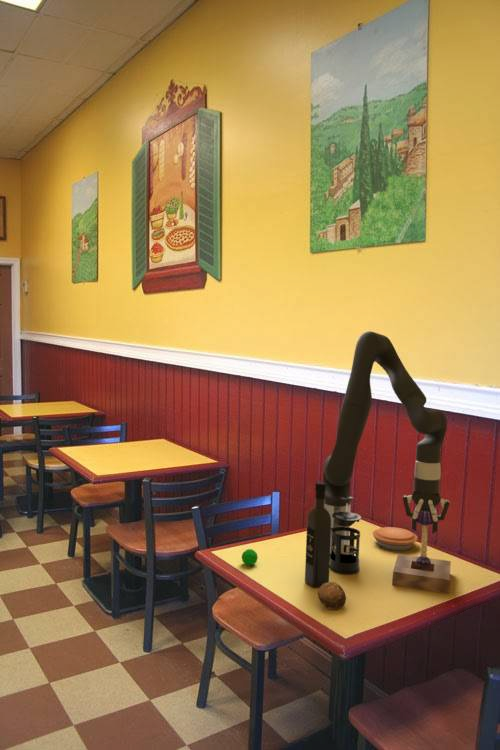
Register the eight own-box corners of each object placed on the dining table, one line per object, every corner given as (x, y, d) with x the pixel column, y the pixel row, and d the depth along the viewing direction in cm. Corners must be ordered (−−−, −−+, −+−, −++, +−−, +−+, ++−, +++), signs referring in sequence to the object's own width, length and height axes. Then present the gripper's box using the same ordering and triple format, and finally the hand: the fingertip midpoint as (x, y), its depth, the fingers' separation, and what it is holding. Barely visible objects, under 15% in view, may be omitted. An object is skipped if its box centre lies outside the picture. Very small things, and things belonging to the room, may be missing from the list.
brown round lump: (313, 586, 170) (323, 573, 167) (338, 596, 171) (349, 583, 168) (311, 610, 164) (322, 597, 160) (338, 621, 165) (349, 608, 161)
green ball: (239, 562, 195) (240, 547, 195) (254, 561, 196) (254, 546, 196) (244, 568, 190) (244, 553, 190) (259, 566, 192) (259, 552, 191)
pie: (364, 546, 214) (365, 532, 214) (382, 535, 227) (382, 521, 226) (407, 556, 205) (408, 541, 205) (423, 544, 218) (423, 530, 218)
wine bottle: (313, 588, 176) (318, 486, 174) (303, 581, 181) (307, 481, 179) (330, 585, 179) (334, 484, 177) (319, 578, 184) (323, 480, 182)
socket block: (392, 584, 181) (392, 571, 181) (397, 565, 196) (398, 553, 196) (449, 593, 176) (449, 580, 176) (450, 573, 191) (450, 561, 191)
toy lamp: (431, 566, 183) (434, 512, 182) (415, 565, 184) (418, 510, 183) (430, 561, 188) (432, 507, 187) (414, 559, 189) (416, 506, 187)
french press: (366, 568, 193) (369, 496, 191) (352, 577, 185) (355, 502, 184) (333, 559, 200) (336, 490, 198) (318, 567, 193) (321, 495, 191)
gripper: (401, 476, 183) (399, 532, 184) (452, 481, 178) (449, 538, 179) (403, 471, 190) (401, 525, 191) (452, 475, 185) (449, 531, 186)
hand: (424, 531), depth 185 cm, fingers closed on toy lamp, 4 cm apart
